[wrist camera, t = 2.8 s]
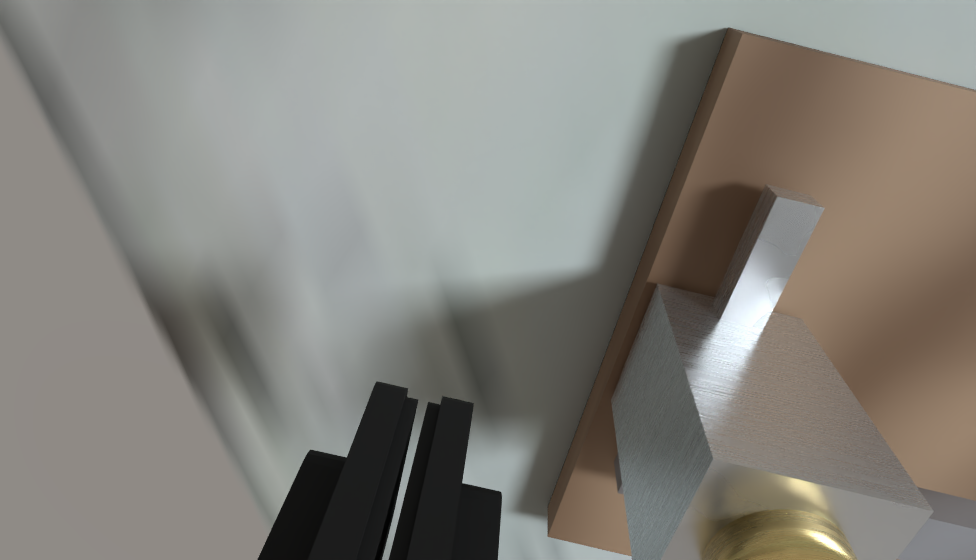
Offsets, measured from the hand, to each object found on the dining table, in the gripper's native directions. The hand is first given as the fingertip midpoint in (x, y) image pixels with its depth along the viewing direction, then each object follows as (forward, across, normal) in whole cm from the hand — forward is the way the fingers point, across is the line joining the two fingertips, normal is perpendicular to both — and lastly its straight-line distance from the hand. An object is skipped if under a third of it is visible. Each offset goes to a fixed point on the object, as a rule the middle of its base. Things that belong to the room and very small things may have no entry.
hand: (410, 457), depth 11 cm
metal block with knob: (+6, -6, -1) cm, 9 cm away
